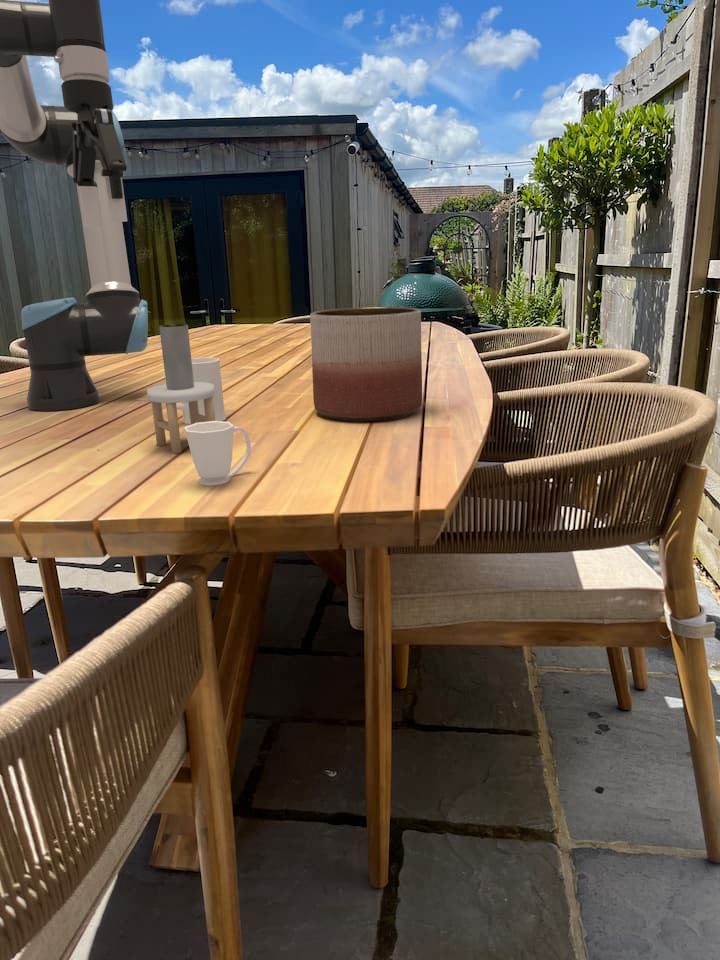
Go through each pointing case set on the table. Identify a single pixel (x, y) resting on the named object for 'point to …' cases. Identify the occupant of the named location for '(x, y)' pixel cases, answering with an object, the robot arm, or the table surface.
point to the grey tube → (176, 356)
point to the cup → (214, 450)
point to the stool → (171, 398)
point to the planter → (366, 362)
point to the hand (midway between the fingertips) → (105, 224)
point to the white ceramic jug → (207, 373)
